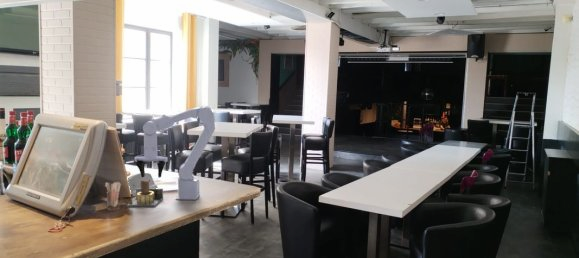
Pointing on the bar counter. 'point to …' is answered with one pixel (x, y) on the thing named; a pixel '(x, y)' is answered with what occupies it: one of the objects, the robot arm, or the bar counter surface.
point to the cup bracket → (147, 198)
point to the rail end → (144, 187)
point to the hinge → (136, 182)
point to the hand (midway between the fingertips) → (151, 176)
